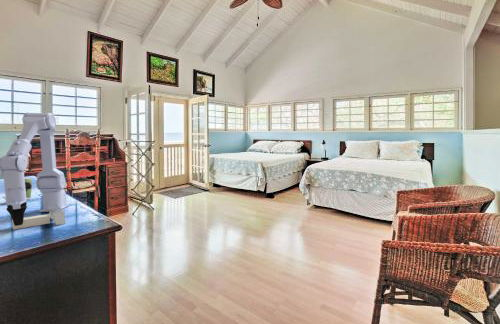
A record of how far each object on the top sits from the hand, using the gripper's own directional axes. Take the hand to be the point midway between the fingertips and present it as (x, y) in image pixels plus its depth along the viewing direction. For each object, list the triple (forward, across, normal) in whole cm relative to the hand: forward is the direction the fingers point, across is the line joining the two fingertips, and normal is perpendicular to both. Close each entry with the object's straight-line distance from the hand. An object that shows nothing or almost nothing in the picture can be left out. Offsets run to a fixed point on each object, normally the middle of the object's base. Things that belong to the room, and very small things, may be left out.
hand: (18, 223), depth 100 cm
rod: (+1, 0, -4) cm, 4 cm away
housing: (+1, +1, -12) cm, 12 cm away
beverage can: (+2, +51, -2) cm, 51 cm away
